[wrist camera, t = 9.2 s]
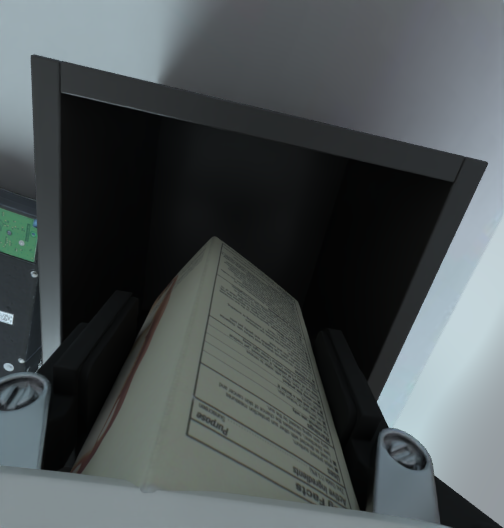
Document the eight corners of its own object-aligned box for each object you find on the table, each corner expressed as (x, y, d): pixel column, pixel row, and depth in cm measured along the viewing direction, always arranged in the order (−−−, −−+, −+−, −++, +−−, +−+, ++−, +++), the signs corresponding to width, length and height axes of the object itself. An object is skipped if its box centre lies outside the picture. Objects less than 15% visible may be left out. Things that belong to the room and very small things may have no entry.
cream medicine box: (151, 301, 14) (-26, 613, 5) (214, 230, 13) (133, 469, 4) (240, 365, 16) (226, 703, 6) (305, 305, 15) (403, 616, 5)
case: (152, 96, 20) (28, 52, 9) (361, 144, 21) (490, 162, 10) (134, 311, 26) (44, 452, 15) (299, 340, 27) (335, 491, 16)
